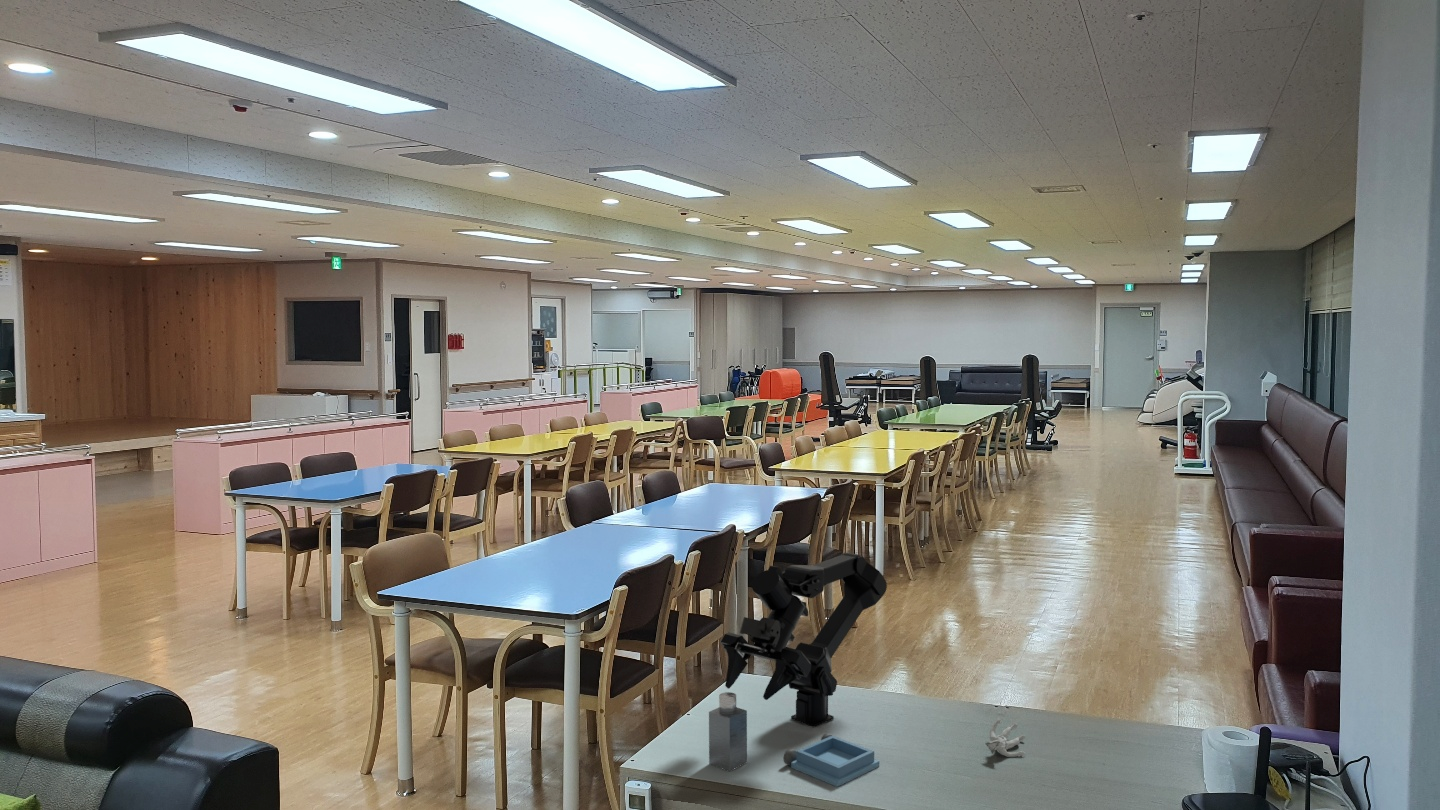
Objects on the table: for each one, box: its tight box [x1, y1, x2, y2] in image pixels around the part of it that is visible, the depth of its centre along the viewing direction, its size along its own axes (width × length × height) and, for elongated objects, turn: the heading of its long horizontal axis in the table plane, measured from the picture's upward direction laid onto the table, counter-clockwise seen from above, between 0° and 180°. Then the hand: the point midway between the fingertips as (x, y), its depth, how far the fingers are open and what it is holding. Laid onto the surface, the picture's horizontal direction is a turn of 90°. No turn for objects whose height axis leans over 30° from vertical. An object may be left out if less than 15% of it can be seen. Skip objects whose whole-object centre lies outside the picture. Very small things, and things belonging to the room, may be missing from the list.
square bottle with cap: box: [708, 691, 748, 772], centre depth 193 cm, size 5×5×13 cm
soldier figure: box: [984, 717, 1026, 758], centre depth 199 cm, size 8×5×12 cm
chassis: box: [782, 733, 880, 787], centre depth 192 cm, size 13×12×3 cm
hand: (745, 693), depth 197 cm, fingers open, 9 cm apart
